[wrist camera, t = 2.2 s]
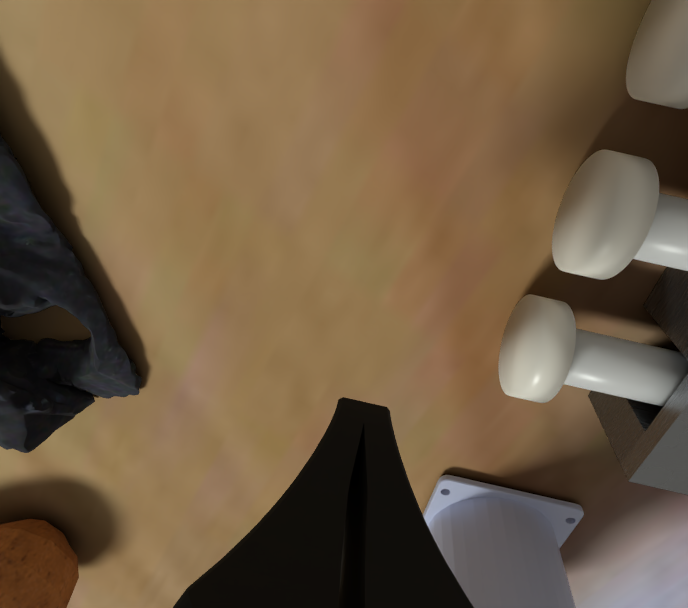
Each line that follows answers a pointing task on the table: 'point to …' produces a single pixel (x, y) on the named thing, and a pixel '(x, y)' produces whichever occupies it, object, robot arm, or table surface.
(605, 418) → the rack
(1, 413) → the black cloth
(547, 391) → the knob
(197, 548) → the table surface
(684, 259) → the knob middle
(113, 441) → the table surface
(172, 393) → the table surface
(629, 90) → the knob
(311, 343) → the table surface
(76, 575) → the potato
